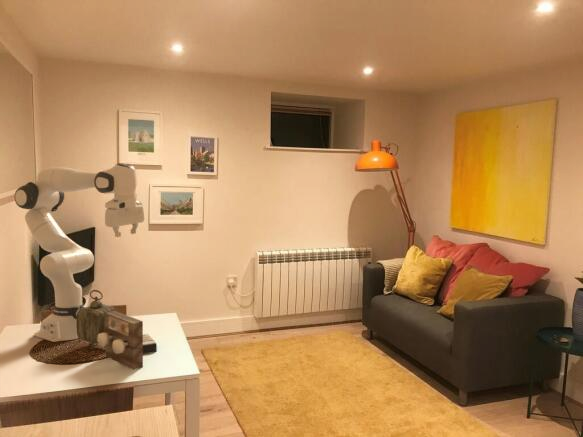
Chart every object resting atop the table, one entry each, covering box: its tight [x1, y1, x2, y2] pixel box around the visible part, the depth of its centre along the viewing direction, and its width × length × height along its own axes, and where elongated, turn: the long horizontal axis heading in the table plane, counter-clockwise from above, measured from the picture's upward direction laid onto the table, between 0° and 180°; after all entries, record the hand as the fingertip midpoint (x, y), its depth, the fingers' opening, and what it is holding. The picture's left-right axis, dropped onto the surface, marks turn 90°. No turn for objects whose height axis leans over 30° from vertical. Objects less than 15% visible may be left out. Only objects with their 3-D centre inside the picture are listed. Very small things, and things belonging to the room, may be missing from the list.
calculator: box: [143, 333, 158, 355], centre depth 205 cm, size 11×4×15 cm
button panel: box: [105, 310, 144, 371], centre depth 189 cm, size 4×20×18 cm, turn 51°
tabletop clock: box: [76, 289, 116, 350], centre depth 202 cm, size 14×9×25 cm, turn 66°
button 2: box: [112, 339, 129, 354], centre depth 183 cm, size 7×5×5 cm
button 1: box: [97, 332, 113, 348], centre depth 190 cm, size 7×5×5 cm
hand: (125, 235), depth 203 cm, fingers open, 8 cm apart
